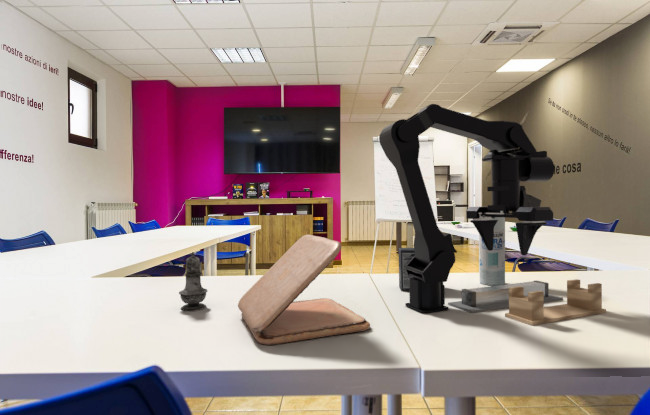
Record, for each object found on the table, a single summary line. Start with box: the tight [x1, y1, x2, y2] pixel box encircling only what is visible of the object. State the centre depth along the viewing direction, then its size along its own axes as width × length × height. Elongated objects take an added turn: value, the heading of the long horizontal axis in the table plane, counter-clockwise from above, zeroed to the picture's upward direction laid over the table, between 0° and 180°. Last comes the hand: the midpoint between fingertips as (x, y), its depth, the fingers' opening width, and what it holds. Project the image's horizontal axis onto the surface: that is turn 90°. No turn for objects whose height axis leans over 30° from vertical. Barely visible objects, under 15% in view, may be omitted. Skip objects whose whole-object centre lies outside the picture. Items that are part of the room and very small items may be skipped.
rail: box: [461, 280, 550, 307], centre depth 85 cm, size 22×3×3 cm, turn 112°
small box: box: [398, 247, 415, 292], centre depth 99 cm, size 11×6×10 cm, turn 84°
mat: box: [447, 294, 564, 314], centre depth 85 cm, size 26×7×1 cm, turn 112°
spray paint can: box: [478, 211, 506, 287], centre depth 104 cm, size 6×6×20 cm
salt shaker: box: [178, 252, 209, 312], centre depth 84 cm, size 6×6×12 cm
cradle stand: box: [504, 278, 607, 326], centre depth 75 cm, size 20×6×6 cm, turn 112°
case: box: [237, 234, 371, 346], centre depth 73 cm, size 20×21×16 cm
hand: (506, 252), depth 85 cm, fingers open, 9 cm apart
